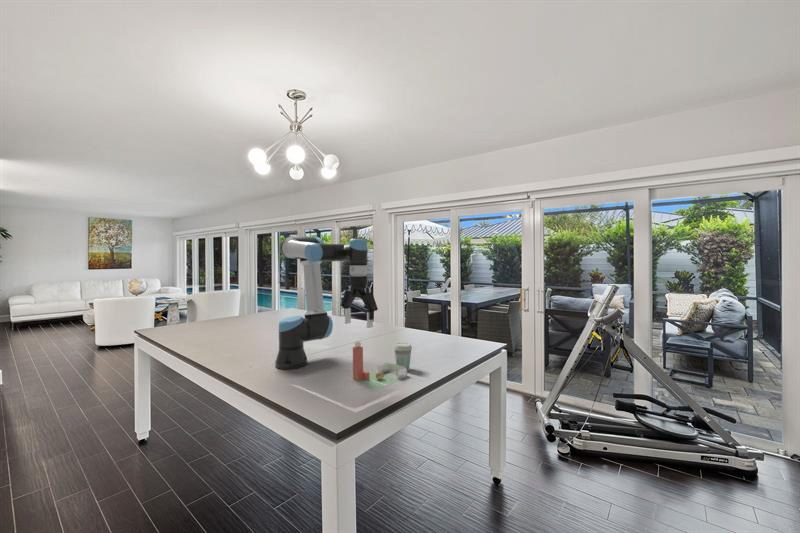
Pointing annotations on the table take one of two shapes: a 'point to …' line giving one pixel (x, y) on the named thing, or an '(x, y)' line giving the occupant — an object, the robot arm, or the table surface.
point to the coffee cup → (403, 354)
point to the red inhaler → (358, 363)
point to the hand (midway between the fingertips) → (358, 325)
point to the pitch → (375, 381)
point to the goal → (393, 369)
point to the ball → (379, 375)
